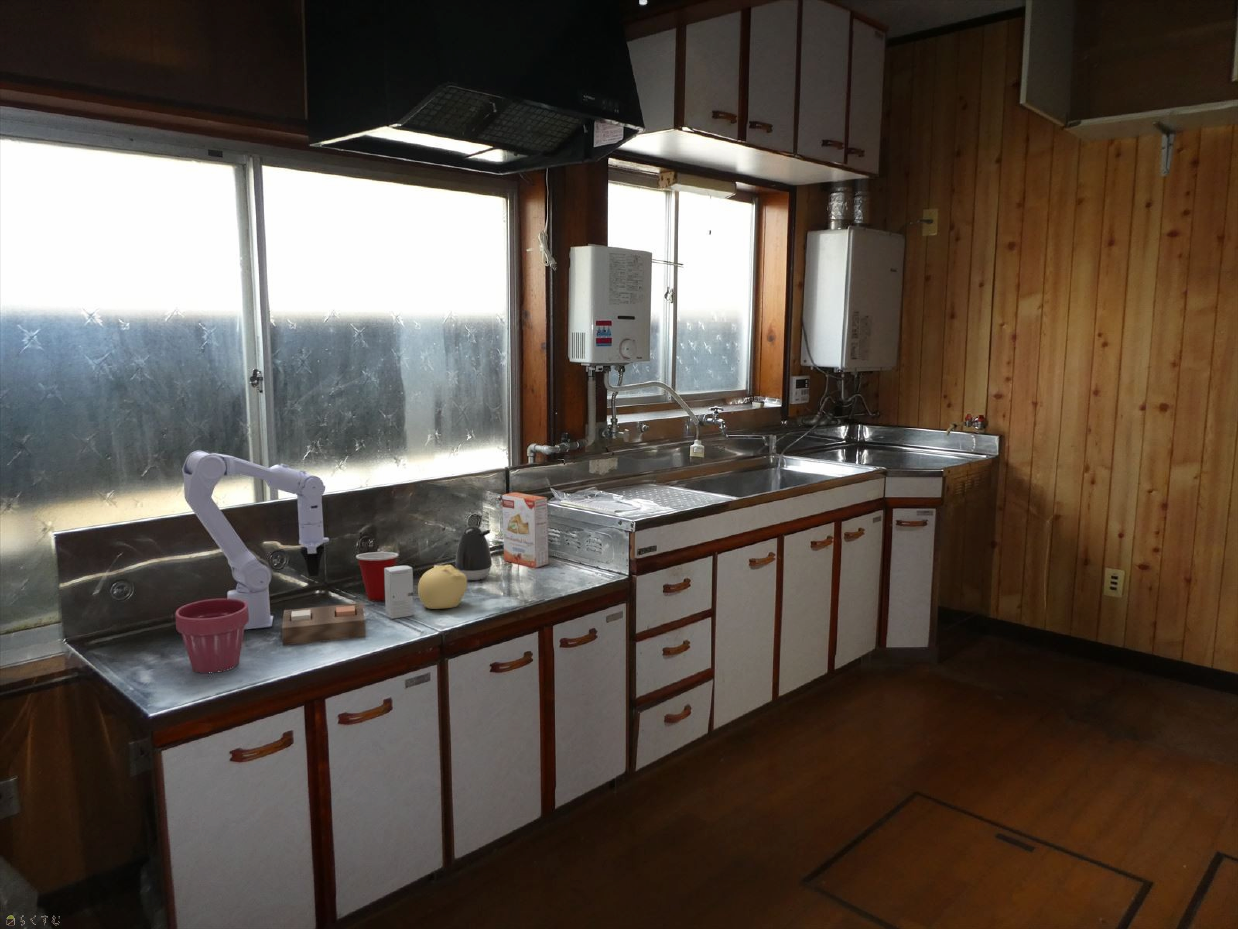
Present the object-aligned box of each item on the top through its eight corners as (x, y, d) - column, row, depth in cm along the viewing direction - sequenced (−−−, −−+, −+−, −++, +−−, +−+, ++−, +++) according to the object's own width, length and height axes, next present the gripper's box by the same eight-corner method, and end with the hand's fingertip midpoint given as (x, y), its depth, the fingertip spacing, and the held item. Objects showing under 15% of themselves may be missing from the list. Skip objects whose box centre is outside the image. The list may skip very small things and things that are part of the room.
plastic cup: (405, 592, 248) (404, 549, 246) (392, 604, 237) (390, 559, 236) (367, 591, 249) (364, 548, 247) (351, 603, 238) (349, 558, 237)
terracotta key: (337, 626, 215) (336, 612, 215) (336, 621, 219) (336, 607, 218) (355, 624, 216) (355, 610, 216) (355, 619, 220) (354, 605, 220)
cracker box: (502, 561, 280) (501, 494, 277) (517, 557, 285) (515, 491, 282) (535, 569, 271) (533, 499, 268) (549, 565, 276) (548, 496, 273)
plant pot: (250, 673, 190) (246, 613, 188) (175, 682, 186) (171, 621, 184) (253, 650, 204) (249, 595, 202) (183, 658, 199) (178, 601, 197)
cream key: (292, 631, 212) (291, 616, 212) (292, 625, 216) (291, 611, 215) (311, 629, 213) (310, 614, 213) (311, 623, 217) (310, 609, 217)
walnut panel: (282, 645, 207) (281, 628, 206) (285, 626, 220) (284, 610, 220) (365, 636, 213) (364, 620, 212) (362, 618, 226) (361, 603, 225)
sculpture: (474, 606, 235) (473, 565, 234) (433, 616, 227) (431, 574, 226) (451, 596, 244) (449, 557, 242) (410, 606, 236) (408, 565, 234)
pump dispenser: (483, 584, 255) (482, 531, 253) (449, 581, 258) (447, 528, 256) (498, 574, 265) (497, 523, 263) (465, 572, 268) (464, 521, 266)
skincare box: (391, 619, 225) (389, 571, 223) (385, 615, 229) (382, 567, 227) (415, 615, 228) (413, 568, 226) (408, 610, 232) (406, 564, 230)
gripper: (327, 526, 223) (330, 581, 225) (327, 515, 236) (330, 566, 238) (297, 529, 221) (300, 583, 223) (298, 517, 234) (301, 569, 236)
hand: (313, 575), depth 230 cm, fingers closed
